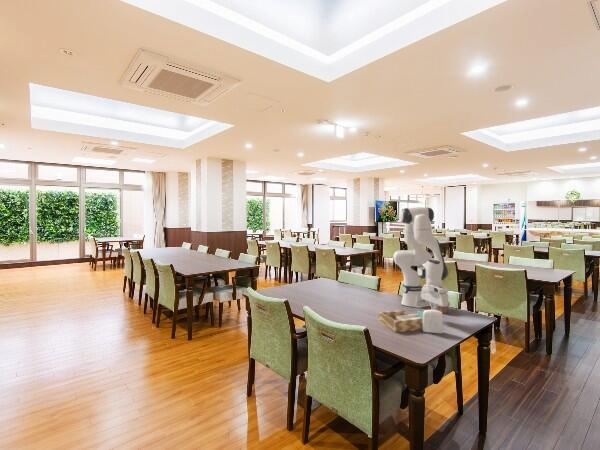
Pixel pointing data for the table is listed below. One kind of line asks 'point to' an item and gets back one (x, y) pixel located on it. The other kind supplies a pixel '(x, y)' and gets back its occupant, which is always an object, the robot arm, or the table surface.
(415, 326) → the woven basket
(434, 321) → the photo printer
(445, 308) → the cupcake
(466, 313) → the table surface
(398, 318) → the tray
